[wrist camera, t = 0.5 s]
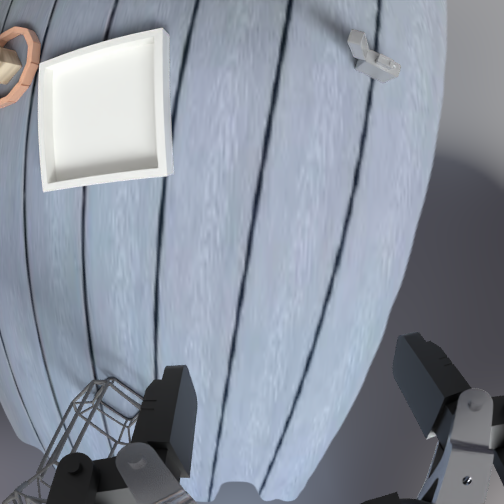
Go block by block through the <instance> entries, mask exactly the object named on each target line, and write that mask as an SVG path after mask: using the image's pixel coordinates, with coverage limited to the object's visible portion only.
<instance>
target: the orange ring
mask: <svg viewBox="0 0 504 504" xmlns="http://www.w3.org/2000/svg"><path fill="white" fill-rule="evenodd" d="M19 35H24V37H25V39H26V41H27V44H28V53H27V63H26V65H25V68H24V70H23V72H22V75H21V77H20V80H19V82H18V83H17V84H16V85H15V87H14V88H13V89H12V90H11V91H10V93H9V94H8V95H7V96H6V97H3V98H1V99H0V108H4V107H6V106H8V105H11V104H13V103H16V102H17V101H18V99H19V98H20V97H21V96H22V95H23V93H24V92H25V91H26V90H27V89H28V88H29V85H31V82H32V80H33V77H34V75H35V73H36V70H37V68H38V66H39V65H38V64H39V60H40V49H41V43H40V41H39V39H38V37H37V35H36V33H35V32H34V31H32V30H30V29H27V28H22V27H16V26H14V27H13V28H11V29H9V30H7V31H6V32H4V33H2V34H1V35H0V47H2V48H3V47H4V45H5V44H6V43H7V42H8V41H9V40H11V39H13V38H15V37H17V36H19Z"/></svg>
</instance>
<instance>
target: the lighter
mask: <svg viewBox="0 0 504 504" xmlns="http://www.w3.org/2000/svg"><path fill="white" fill-rule="evenodd" d="M348 44H349V47H350V49H351V52H352V54H353V57H354V58H358V61H357V64H356V67H355V70H356V71H359V72H361V73H363V74H365V75H367V76H369V77H371V78H373V79H375V80H377V81H379V82H381V83H386V82H388V81H390V80H392V79H394V78H396V77H398V75H399V72H400V69H401V65H400V64H398V63H396V62H394V60H392V59H390V58H388V57H386V56H385V55H383V54H379V53H377V52H375V51H373V50H369V46H368V42H367V39H366V35H365V32H362V31H358V30H354V29H352V30H351V32H350V35H349V38H348Z"/></svg>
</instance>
